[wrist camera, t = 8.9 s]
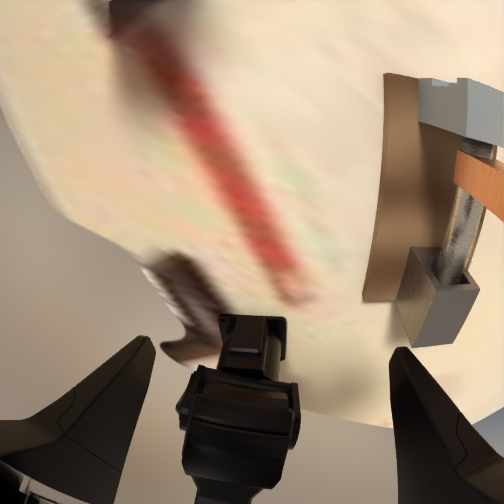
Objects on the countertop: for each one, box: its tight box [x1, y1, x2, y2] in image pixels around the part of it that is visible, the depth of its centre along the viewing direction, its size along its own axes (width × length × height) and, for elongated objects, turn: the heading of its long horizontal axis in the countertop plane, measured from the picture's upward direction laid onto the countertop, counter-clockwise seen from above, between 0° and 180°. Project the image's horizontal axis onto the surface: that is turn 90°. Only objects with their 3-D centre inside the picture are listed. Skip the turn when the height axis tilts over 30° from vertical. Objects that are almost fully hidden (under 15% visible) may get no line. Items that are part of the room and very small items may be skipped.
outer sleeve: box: [395, 246, 480, 348], centre depth 18 cm, size 6×4×6 cm
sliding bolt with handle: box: [434, 136, 504, 285], centre depth 11 cm, size 14×3×9 cm, turn 3°
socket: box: [418, 78, 504, 148], centre depth 11 cm, size 3×6×6 cm, turn 93°
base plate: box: [362, 73, 497, 301], centre depth 17 cm, size 18×10×1 cm, turn 3°
